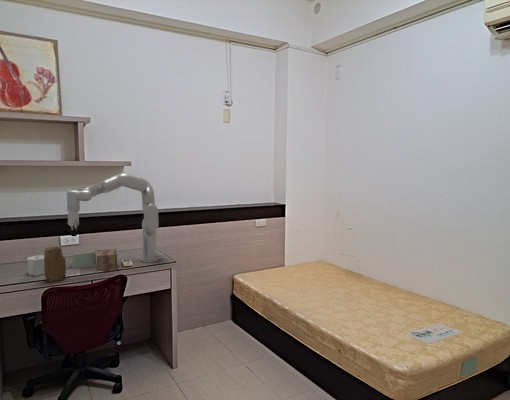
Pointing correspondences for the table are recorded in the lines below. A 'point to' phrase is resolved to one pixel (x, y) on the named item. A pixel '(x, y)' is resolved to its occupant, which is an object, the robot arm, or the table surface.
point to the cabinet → (107, 260)
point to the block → (54, 264)
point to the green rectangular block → (84, 259)
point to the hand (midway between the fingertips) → (74, 235)
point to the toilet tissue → (36, 265)
